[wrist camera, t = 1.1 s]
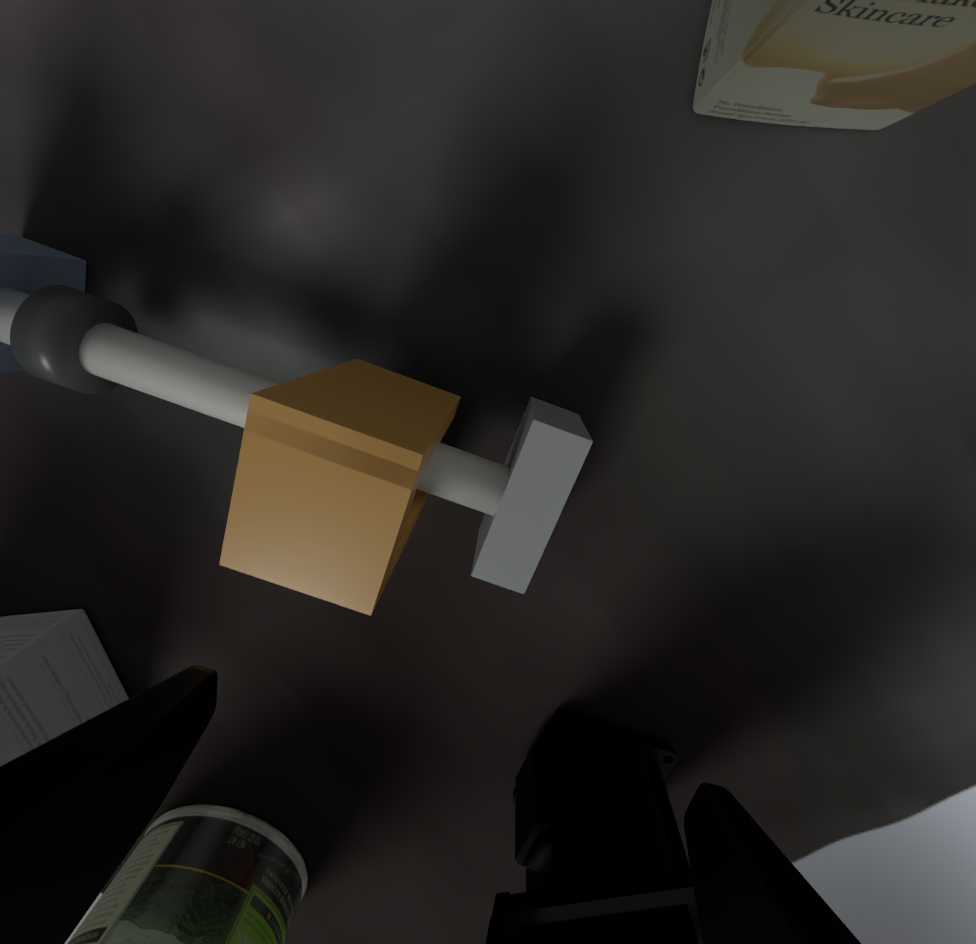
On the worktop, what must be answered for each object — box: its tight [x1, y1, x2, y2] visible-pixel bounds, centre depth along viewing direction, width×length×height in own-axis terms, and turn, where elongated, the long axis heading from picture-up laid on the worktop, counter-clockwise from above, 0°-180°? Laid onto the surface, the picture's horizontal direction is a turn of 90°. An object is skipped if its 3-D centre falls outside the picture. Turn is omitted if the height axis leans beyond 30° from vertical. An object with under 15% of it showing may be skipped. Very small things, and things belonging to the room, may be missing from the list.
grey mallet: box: [0, 234, 593, 594], centre depth 16 cm, size 22×6×6 cm, turn 70°
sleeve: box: [219, 359, 461, 616], centre depth 15 cm, size 4×5×7 cm
